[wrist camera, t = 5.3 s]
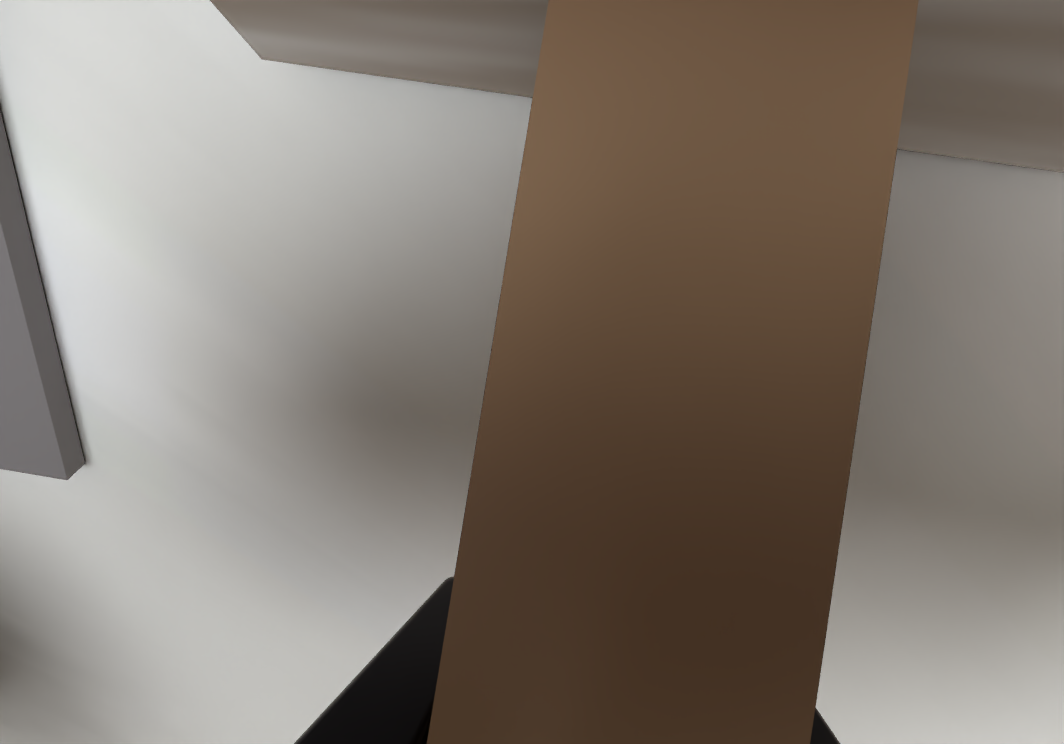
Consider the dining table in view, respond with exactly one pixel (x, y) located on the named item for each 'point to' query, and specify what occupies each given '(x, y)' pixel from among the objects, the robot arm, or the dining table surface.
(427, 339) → the dining table surface
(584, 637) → the t-shaped pusher tool
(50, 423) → the tool mat
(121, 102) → the dining table surface
